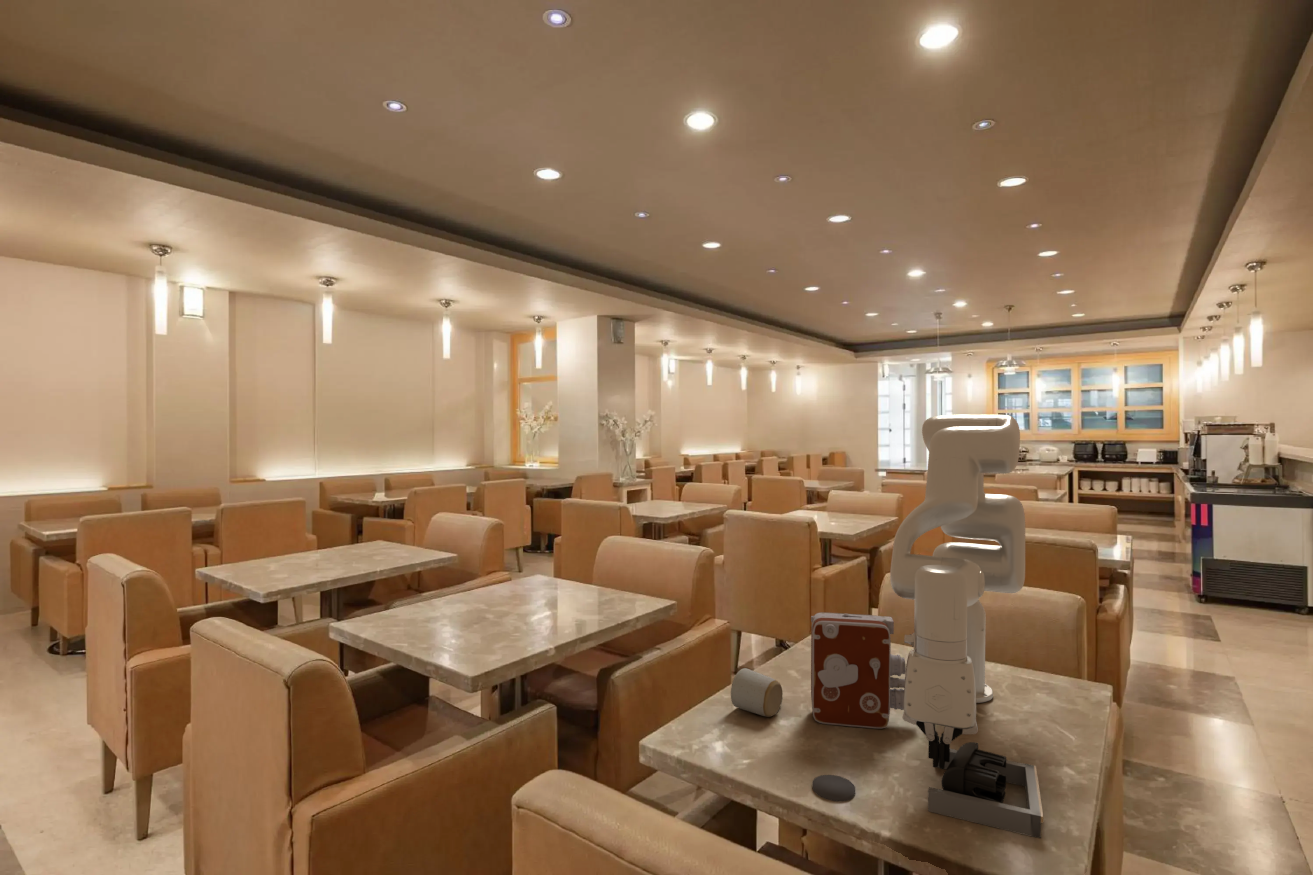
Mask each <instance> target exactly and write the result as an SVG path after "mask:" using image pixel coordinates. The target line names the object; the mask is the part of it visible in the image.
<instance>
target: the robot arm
mask: <svg viewBox="0 0 1313 875" xmlns="http://www.w3.org/2000/svg"><path fill="white" fill-rule="evenodd" d="M921 433H922V434H921V435H922V439H923V442H924V445H925V447H926V449H927V451H928V460H927V462H928V463H927V472H926V473H927V475H926V483H925V484H926V485H925V494H924V495H925V497H924V499H923V500H924V501H922V502H921V503H920V504H919V505H917V506H916V507H914V509H913V510H911V512H909V514H907V516H906V517H905V518H904V519H903V521H902V522H901V523H900V524H899V527H898V528H897V531H896V532H895V536H894V540H893V546H892V554H891V561H890V562H891V563H890V571H889V572H890V574H889V575H890V576H889V578H890V586H891V589H892V590H893V592H894V594H896V595H897V596H899V597H901V598H903V599H906V600H914V615H913V616H914V619H913V620H914V622H913V623H914V624H913V625H914V627H913V628H914V629H913V631H914V632H912V634H904V638H903V639H904V640H903V641H904V644H909V645H910V646H911V647H912V648H913V649H911V650H910V651H909V652H908V655H907V659H906V663H905V664H906V671H905V674H904V679H905V685H904V688H903V690H904V710H903V714H902V720H903V721H904V722H907V723H910V724H912V725H915V726H917V728H918V729H920V730H921V732H922V733H923V734H924V735H925V736H926V739H927V740H928V748H927V749H928V755H927V756H928V757H927V758H928V759H932V767H933V768H935V769H936V768H937V767H938V763H939V768H938V769H940V770H945V769H944V766H945V762H950V749H951V743H952V742H953V741H954V740H955V739H957V738H958V737H960V736H961V735H976V734H978V731H979V728H978V724H977V717H976V716H977V704H979V703H987V702H989V701H991V700H992V699H993V698H994V691H993V689H992V688H991V687H990V686H989V685H988V684H986V610H985V608H984V606H983V604H982V603H981V601H980V598H981V597H982V596H983V595H984V592H993V593H1002V594H1003V593H1004V594H1014V593H1016V594H1017V593H1019V592H1020V591H1021V590H1022V589H1023V587H1024V585H1025V580H1026V515H1025V514H1026V513H1025V509H1024V506H1023V504H1022V502H1021V500H1020V499H1018V497H1016V496H1013V495H1010V494H1009V495H1008V494H998V493H996V494H994V493H986V492H985V489H984V485H985V483H984V481H985V480H984V474H1002V475H1004V474H1010V473H1012V472H1013V471H1014V470H1015V469H1016V467H1017V465H1018V462H1019V459H1020V448H1021V447H1020V446H1021V444H1020V443H1021V432H1020V426H1019V423H1018V421H1017V419H1015V418H1014V417H1013V416H1011V415H1007V414H1006V415H1005V414H945V415H935V416H931V417H928V418H927V419H926V420H924V422H923V424H922V428H921ZM937 528H940V529H941V531H942V532H943V534H945V535H947V536H948V537H952V538H958V539H966V540H968V539H969V540H979V541H981V540H982V541H993V542H994V541H995V542H996V543H998V544H999V545H993V544H981V543H974V542H973V543H972V542H959V541H958V542H957V541H955V542H953V541H951V542H944V543H941V544H939V545H937V546H936V547H935V549H934V551H933V553H932V555H926V554H925V555H924V554H916V553H915V554H913V553H911V552H912V547H913V546H914V543H915V542H916V541H917V540H918V538H920V537H921V536H923V535H924V534H925V533H927V532H929V531H933V530H935V529H937ZM936 725H937V726H941V727H942V726H943V727H944V730H943V732H941V735H940V736H939V734H938V732H937V729H936Z"/></svg>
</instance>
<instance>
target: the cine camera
mask: <svg viewBox="0 0 1313 875" xmlns="http://www.w3.org/2000/svg"><path fill="white" fill-rule="evenodd" d="M810 622H811V631H810V632H811V633H810V635H811V636H810V637H811V640H810V641H811V642H810V647H811V648H810V694H811V695H810V696H811V697H810V698H811V710H812V712H811V713H812V716H813V720H814V721H815V722H817V723H819V724H823V725H830V726H831V725H832V726H843V727H855V728H865V729H885V728H887V727H888V725H889V723H890V714H891V709H894V710H900V711H904V685H905V678H899V677H901V676H902V675H905V672H906V664H907V663H906V659H905V657H901V655H900V654H896V655H895V654H892V652H891V635H894V632H895V631H894V630H895V623H894V622H895V621H894V620H893V618H892V617H891V616H882V615H874V614H873V615H872V614H860V613H859V614H858V613H856V614H855V613H843V612H842V613H840V612H826V611H825V612H816V613H815V614H814V615H811V616H810ZM893 676H897V677H893Z"/></svg>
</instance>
